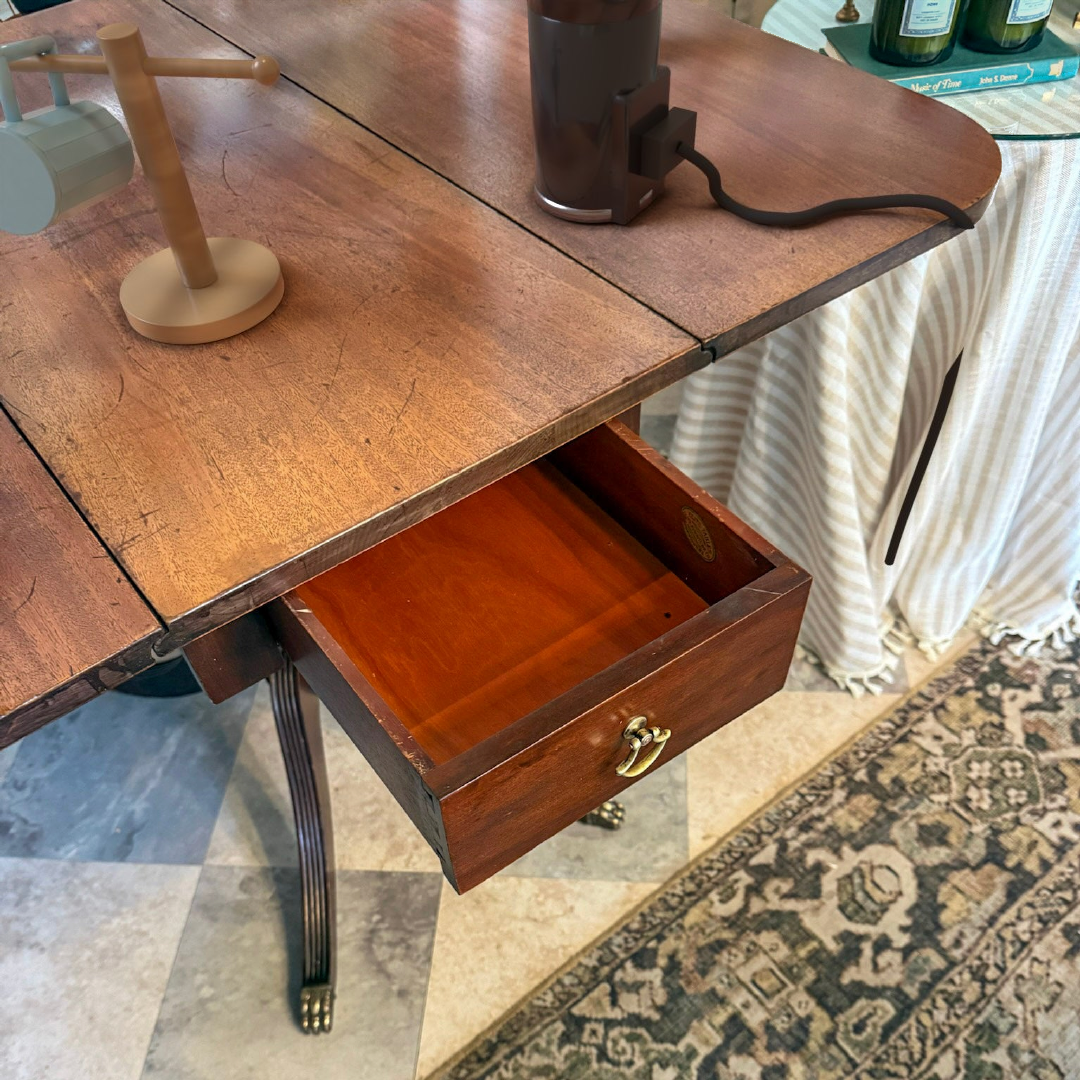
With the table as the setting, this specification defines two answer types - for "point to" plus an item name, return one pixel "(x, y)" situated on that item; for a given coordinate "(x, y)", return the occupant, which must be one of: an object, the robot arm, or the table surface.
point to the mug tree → (177, 201)
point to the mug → (55, 151)
